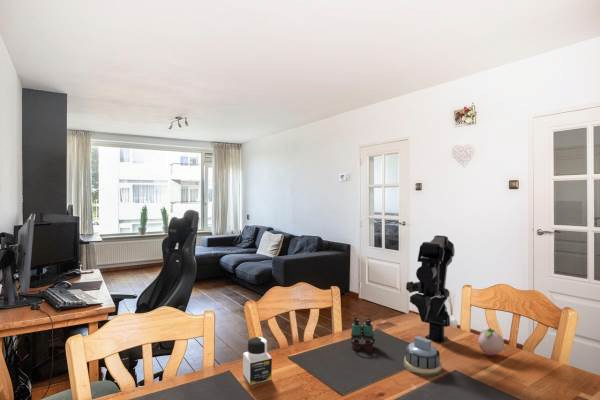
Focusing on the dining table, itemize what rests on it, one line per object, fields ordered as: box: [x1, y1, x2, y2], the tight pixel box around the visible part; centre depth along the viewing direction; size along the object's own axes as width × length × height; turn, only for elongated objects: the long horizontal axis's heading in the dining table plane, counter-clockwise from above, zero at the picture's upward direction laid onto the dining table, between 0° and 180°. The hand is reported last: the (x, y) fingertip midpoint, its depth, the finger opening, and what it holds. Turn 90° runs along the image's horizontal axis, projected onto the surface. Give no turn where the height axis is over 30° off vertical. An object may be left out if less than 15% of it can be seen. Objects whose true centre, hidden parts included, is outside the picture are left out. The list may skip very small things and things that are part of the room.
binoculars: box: [350, 317, 376, 352], centre depth 132 cm, size 9×11×10 cm
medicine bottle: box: [242, 336, 273, 386], centre depth 111 cm, size 7×7×12 cm
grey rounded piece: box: [408, 335, 438, 357], centre depth 119 cm, size 9×9×7 cm
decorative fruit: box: [477, 327, 505, 356], centre depth 128 cm, size 9×8×10 cm
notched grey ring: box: [403, 345, 442, 377], centre depth 118 cm, size 12×12×6 cm
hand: (429, 318), depth 129 cm, fingers open, 9 cm apart
